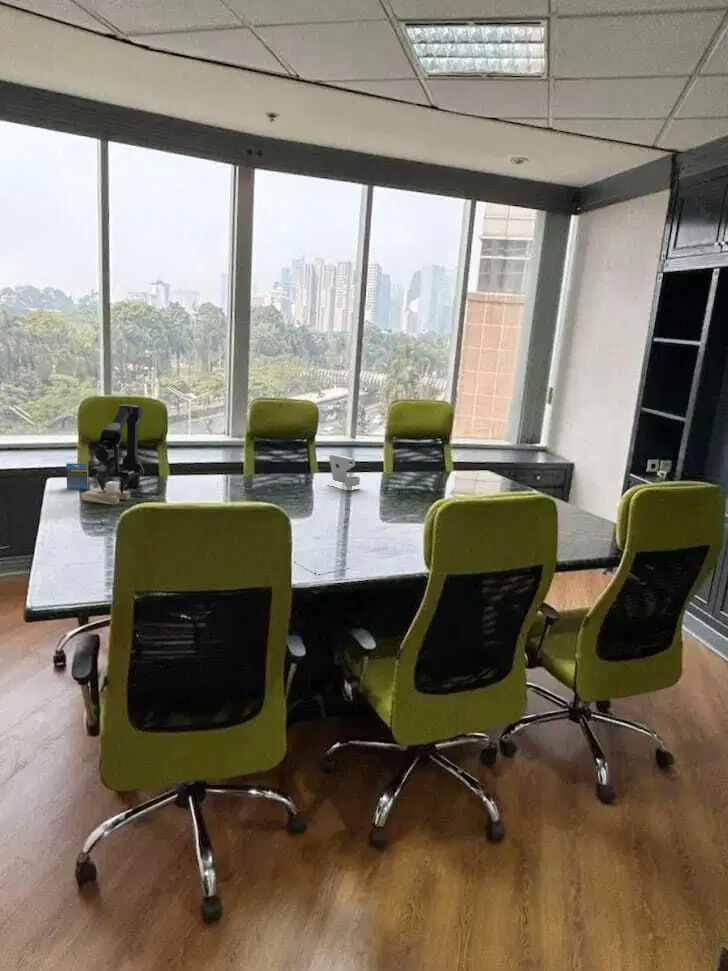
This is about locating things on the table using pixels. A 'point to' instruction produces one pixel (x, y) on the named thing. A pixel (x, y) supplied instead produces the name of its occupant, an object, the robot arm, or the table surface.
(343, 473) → the phone holder
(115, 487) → the grey peg
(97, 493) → the notched board
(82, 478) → the label tape cartridge
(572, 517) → the table surface
